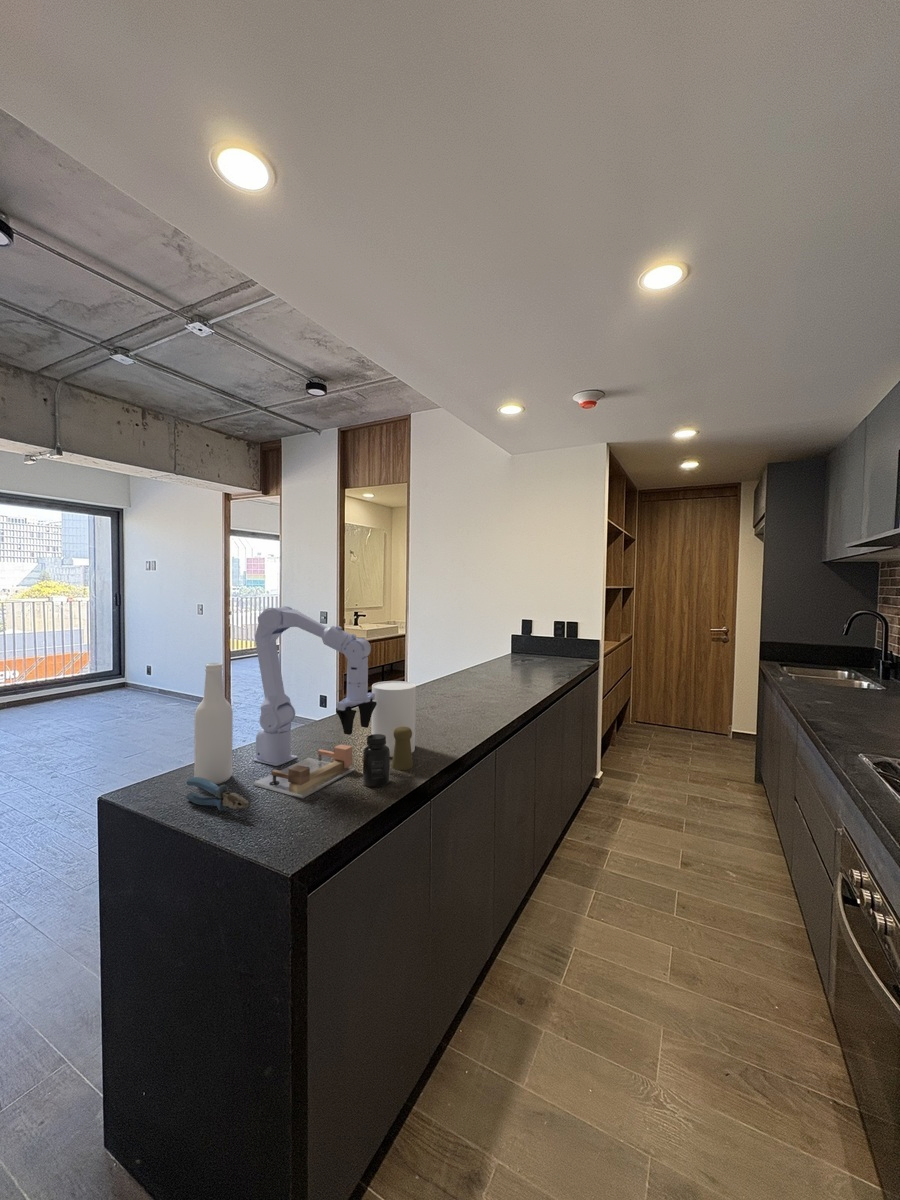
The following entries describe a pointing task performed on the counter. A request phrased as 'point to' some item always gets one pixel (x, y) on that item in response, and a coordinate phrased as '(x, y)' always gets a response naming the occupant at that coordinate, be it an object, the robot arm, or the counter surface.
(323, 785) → the flange plate
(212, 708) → the alcohol
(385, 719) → the canister
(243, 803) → the pliers
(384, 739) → the supplement bottle
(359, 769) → the counter surface
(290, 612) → the robot arm
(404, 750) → the cork
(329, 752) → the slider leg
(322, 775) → the bar
